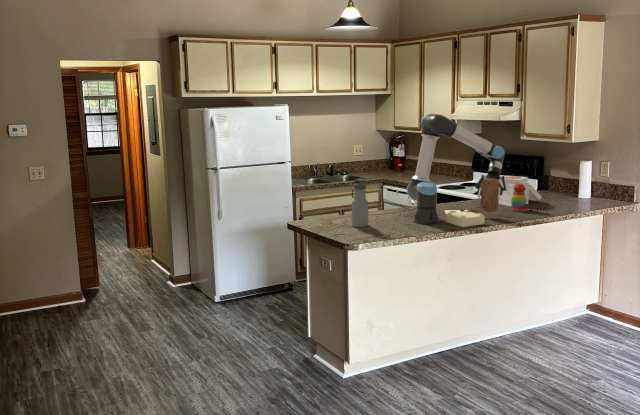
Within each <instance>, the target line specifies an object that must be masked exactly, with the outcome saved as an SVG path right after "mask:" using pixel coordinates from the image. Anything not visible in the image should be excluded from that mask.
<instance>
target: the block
mask: <svg viewBox="0 0 640 415" xmlns="http://www.w3.org/2000/svg"><path fill="white" fill-rule="evenodd" d="M498 193H499V181H498V180H497V179H494V178H485V179H484V180H483V181H482V183H481V195H480V209H481V211H484V212H488V213H495V212H496V211H497V210H498V207H499V204H498V201H499V200H498Z"/></svg>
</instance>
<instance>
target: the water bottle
mask: <svg viewBox="0 0 640 415" xmlns="http://www.w3.org/2000/svg"><path fill="white" fill-rule="evenodd" d="M364 182H365V179H364V178H355V179H354V180H353V183H352V185H353V189H351V198H353V200H352V201H351V226H352V227H354V228H366V226H367V227H368V226H369V200H367V198H366V197H367V196H366V190H367V184H366V183H364Z"/></svg>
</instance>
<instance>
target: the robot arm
mask: <svg viewBox="0 0 640 415" xmlns="http://www.w3.org/2000/svg"><path fill="white" fill-rule="evenodd" d="M420 127H421V133H420V135H421V136H422V140H421V145H420V149H419V150H420V151H419V155H418V158H417V159H418V160H417V165H416V169H415V173H414V175H413V176H412V177H411V181H410V182H409V183H408V184H407V187H406V192H407V195H408V196H409V197H410V198H411V199H412V201H416V210H415V214H414V216H413V222H414V223H416V224H418V225H419V224H420V225H435V224H438V223H440V217H439V214H438V211H437V209H438V208H437V206H438V205H437V203H438V202H437V201H438V200H437V198H438V189H437V187H438V186H437V185H436V184H435V183H433V182H431V179H430V173H431V168H432V164H433V158H434V154H435V150H436V145H437V140H439V139H440V138H441V136H444V137H447V138H449V139H451V138H453V139H454V140H457V141H459V142H461V143H463V144H465V145H467V146H469V147H471V148H473V149H475V151H476V152H477V153H478V154H480V155H481V156H483V157H484V158H486V159H487V160H490V162H489V166H488V170H487V174H486V175H484V174H482V175H481V177H480V178H479V180H478V182H477V183H476V184H475V189H476V190H477V191H476V192H477V198H478V200H481V183H482V181H483V180H484V179H486V178H494V179H497V180H499V179H501V180H502V183H503V187H504V188H503V187H502V186H501V184H500V183H499V188H500V189H499V193H498V200H499V199H500V195H502V193H503V191H506V185H505V181H504V180H505V178H504V176H505V175H502V176H501V174H502V173H501V172H502V168H503V163H504V159H505V149H504V148H503V147H502V146H500V145H497V144H494V143H493V142H491V141H489V140H487V139H485V138H483V137H481V136H479V135H477V134H475V133H472V132H471V131H469V130H467V129H465V128H463V127H461V126H459V125H458V123H456V122H455V121H453V120H451V119H450V118H448V117H447V116H445V115H443V114H437V113H429V114H426V115H424V116H423V117H422V118H421V120H420Z"/></svg>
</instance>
